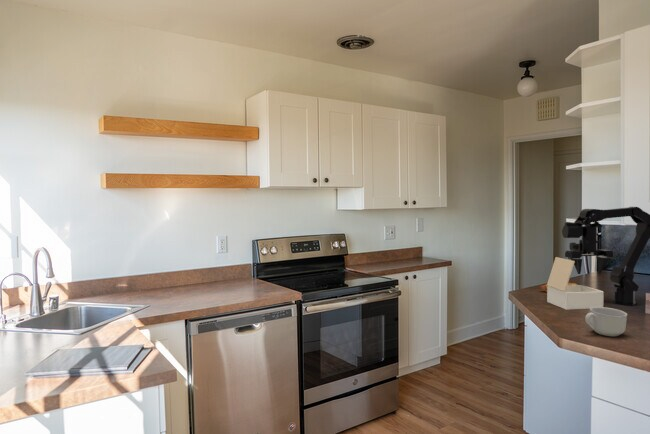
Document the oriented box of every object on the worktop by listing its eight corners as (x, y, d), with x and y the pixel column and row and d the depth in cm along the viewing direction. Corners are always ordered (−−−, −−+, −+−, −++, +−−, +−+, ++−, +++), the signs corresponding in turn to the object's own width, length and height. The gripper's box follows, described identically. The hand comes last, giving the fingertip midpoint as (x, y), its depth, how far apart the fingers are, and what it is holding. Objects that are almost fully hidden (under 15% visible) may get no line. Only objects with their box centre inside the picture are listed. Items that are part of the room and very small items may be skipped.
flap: (556, 257, 199) (555, 256, 198) (574, 261, 186) (573, 260, 186) (547, 285, 199) (546, 284, 199) (565, 291, 186) (564, 290, 186)
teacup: (612, 328, 158) (612, 306, 158) (634, 338, 147) (635, 314, 147) (573, 329, 157) (573, 307, 157) (593, 339, 147) (593, 315, 146)
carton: (582, 300, 201) (582, 285, 201) (604, 308, 186) (604, 291, 186) (546, 301, 200) (546, 286, 200) (566, 309, 185) (566, 292, 185)
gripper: (597, 235, 203) (597, 270, 204) (557, 236, 202) (557, 271, 202) (614, 237, 192) (614, 274, 192) (572, 239, 191) (572, 275, 191)
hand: (589, 273), depth 195 cm, fingers open, 9 cm apart
